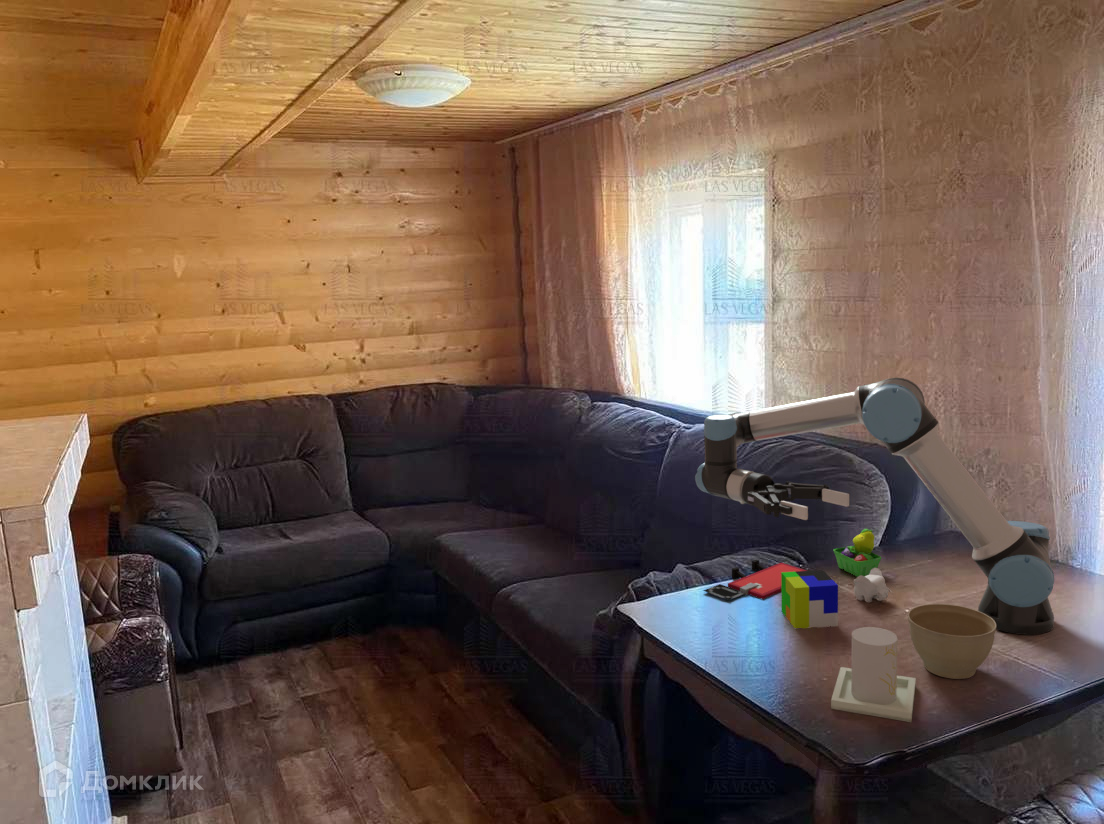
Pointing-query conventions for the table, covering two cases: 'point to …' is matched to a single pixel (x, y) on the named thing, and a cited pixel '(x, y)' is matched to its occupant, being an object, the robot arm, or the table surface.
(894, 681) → the white cylinder
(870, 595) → the elephant figurine
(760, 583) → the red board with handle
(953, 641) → the planter bowl
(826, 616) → the puzzle toy
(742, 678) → the table surface
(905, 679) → the tray
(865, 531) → the fruit basket
